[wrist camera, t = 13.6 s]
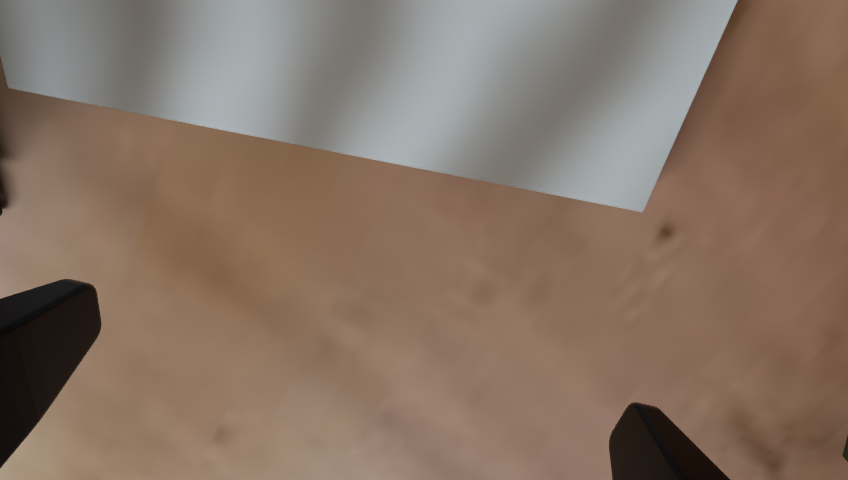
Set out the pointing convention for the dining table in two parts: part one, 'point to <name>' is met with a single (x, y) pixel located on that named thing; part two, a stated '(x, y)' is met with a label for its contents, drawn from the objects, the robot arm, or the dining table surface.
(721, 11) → the door board
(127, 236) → the dining table surface
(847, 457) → the wine bottle
